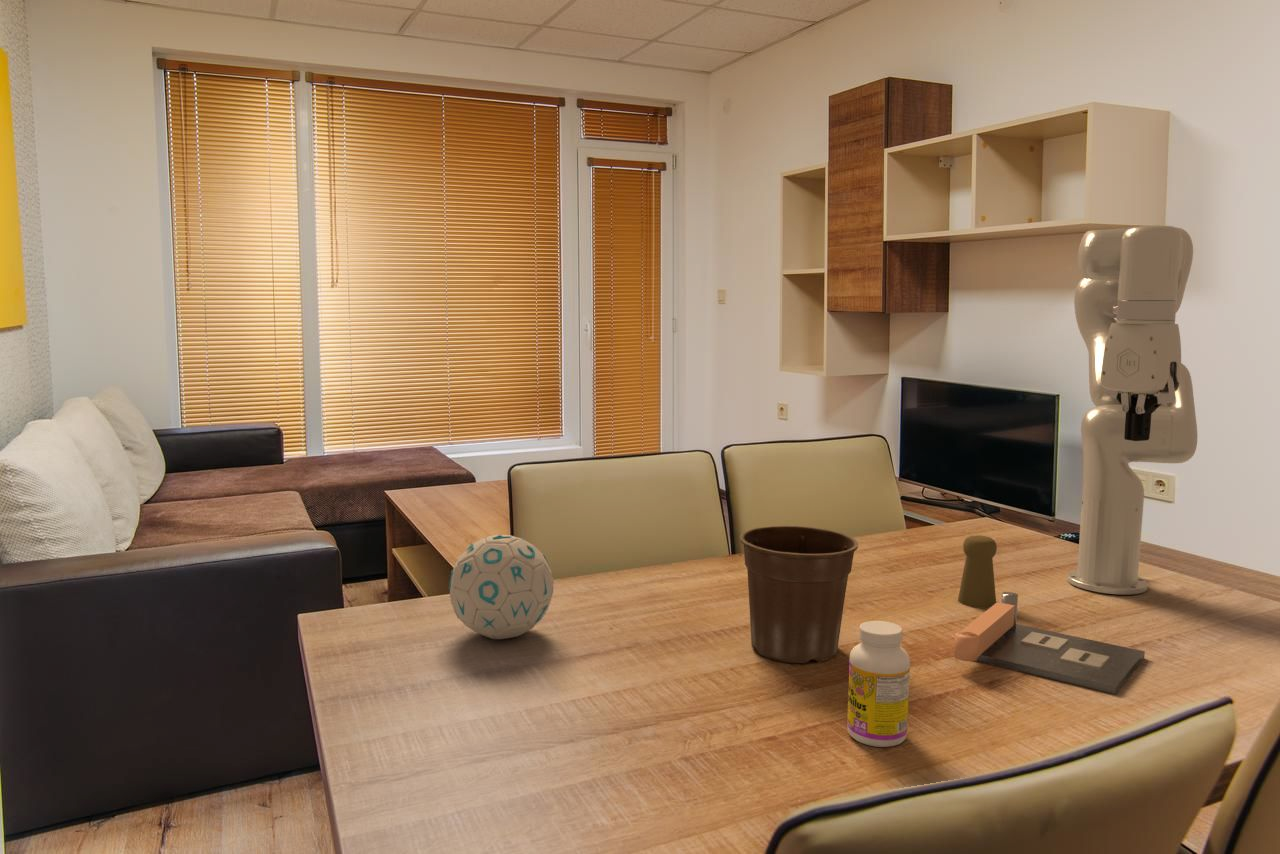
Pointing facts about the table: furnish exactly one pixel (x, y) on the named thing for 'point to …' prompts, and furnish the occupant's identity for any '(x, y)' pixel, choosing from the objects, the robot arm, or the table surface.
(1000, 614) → the swing bar
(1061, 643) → the panel
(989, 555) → the cork
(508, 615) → the puzzle ball
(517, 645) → the table surface
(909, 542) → the table surface
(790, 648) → the plant pot
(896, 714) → the supplement bottle
